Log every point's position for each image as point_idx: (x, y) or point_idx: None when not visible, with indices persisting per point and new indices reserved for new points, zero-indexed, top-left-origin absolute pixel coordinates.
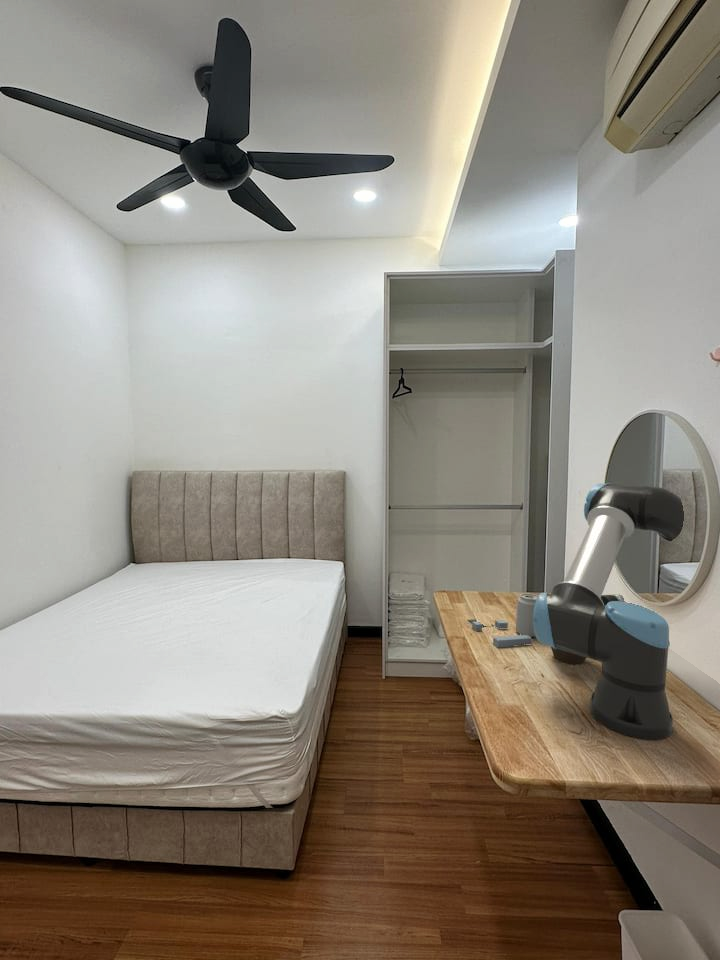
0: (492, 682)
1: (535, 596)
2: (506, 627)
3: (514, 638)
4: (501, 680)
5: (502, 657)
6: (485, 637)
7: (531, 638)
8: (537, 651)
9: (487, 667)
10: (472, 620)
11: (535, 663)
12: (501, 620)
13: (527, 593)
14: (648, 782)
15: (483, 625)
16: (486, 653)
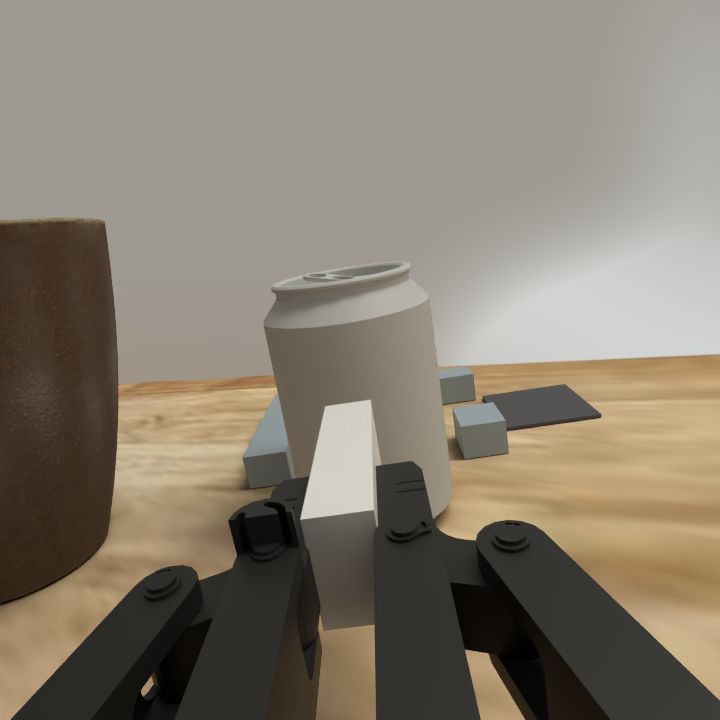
0: (125, 399)
1: (361, 287)
2: (461, 447)
3: (269, 421)
4: (118, 408)
5: (212, 419)
6: None
7: (244, 458)
8: (184, 489)
9: (186, 398)
10: (560, 391)
11: (118, 464)
12: (493, 414)
13: (402, 265)
14: None
15: (498, 407)
16: (256, 402)
